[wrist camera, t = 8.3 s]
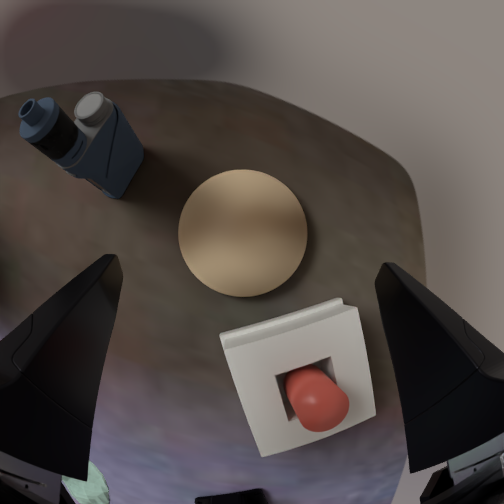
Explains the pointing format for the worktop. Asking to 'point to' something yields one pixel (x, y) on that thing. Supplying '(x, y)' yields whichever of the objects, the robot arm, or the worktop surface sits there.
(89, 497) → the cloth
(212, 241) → the coaster
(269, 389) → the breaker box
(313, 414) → the button
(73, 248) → the worktop surface
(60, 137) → the vaping device
